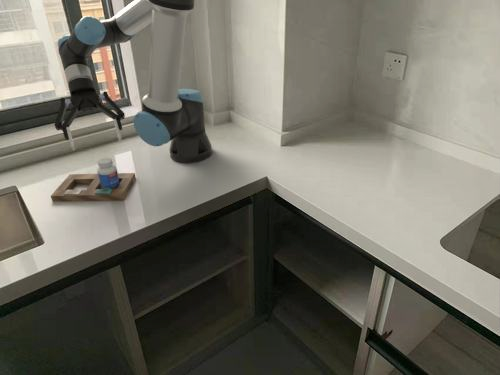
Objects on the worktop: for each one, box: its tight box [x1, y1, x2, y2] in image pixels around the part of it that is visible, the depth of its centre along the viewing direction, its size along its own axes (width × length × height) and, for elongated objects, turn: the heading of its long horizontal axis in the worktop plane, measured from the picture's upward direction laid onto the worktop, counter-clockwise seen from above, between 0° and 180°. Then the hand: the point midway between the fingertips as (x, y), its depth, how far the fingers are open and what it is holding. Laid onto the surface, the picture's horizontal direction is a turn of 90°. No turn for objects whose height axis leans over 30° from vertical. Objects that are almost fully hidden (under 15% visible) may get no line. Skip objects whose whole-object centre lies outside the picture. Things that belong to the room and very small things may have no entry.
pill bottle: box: [96, 157, 120, 189], centre depth 111 cm, size 6×5×10 cm
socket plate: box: [50, 172, 137, 203], centre depth 112 cm, size 21×13×2 cm, turn 90°
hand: (97, 144), depth 112 cm, fingers open, 13 cm apart
